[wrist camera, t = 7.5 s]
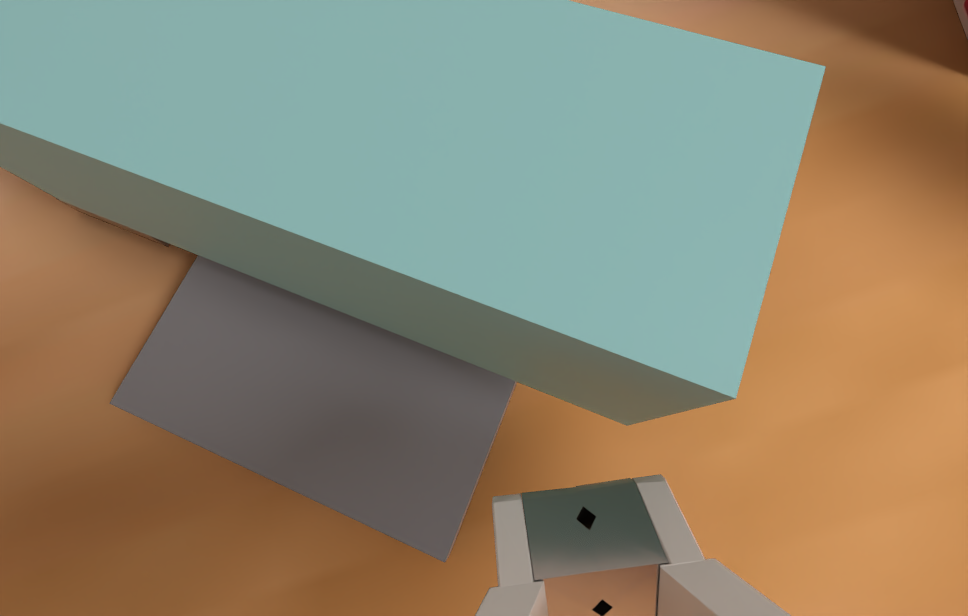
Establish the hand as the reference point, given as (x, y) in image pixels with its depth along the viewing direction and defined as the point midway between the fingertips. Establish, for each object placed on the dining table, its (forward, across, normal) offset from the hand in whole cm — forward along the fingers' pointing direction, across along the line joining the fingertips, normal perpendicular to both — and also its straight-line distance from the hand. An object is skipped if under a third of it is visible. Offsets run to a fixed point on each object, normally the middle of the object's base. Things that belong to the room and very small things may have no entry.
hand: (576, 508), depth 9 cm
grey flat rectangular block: (+13, -5, 0) cm, 14 cm away
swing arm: (+13, -7, +1) cm, 15 cm away
